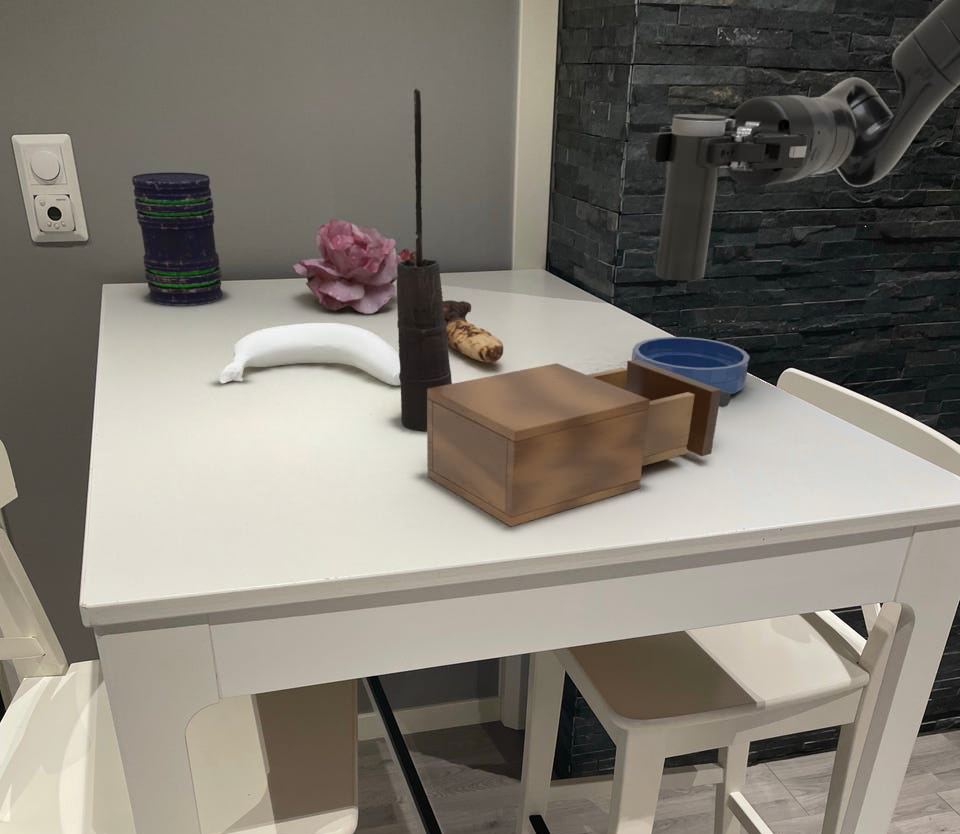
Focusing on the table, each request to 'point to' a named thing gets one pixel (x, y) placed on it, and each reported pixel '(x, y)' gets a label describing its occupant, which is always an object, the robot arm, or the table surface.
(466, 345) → the tan mottled elongated piece
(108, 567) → the table surface
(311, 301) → the table surface
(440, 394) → the cabinet
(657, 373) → the drawer
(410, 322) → the butter churn
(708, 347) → the bowl
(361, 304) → the flower
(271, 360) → the banana
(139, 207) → the storage jar
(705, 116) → the pepper mill
